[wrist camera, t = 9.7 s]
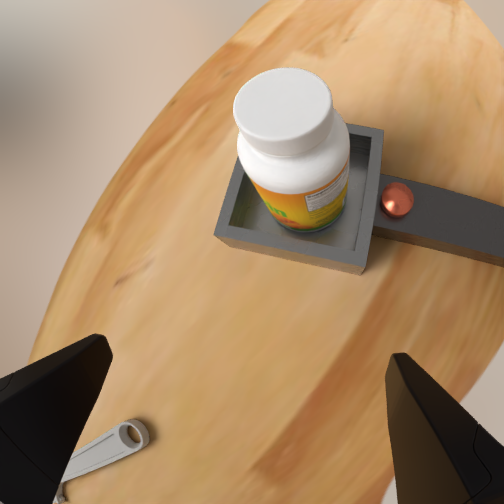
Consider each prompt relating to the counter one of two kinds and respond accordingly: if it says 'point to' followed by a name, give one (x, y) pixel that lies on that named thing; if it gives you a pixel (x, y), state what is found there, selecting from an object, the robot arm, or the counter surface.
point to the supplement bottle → (294, 147)
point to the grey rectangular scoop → (366, 217)
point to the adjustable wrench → (103, 452)
